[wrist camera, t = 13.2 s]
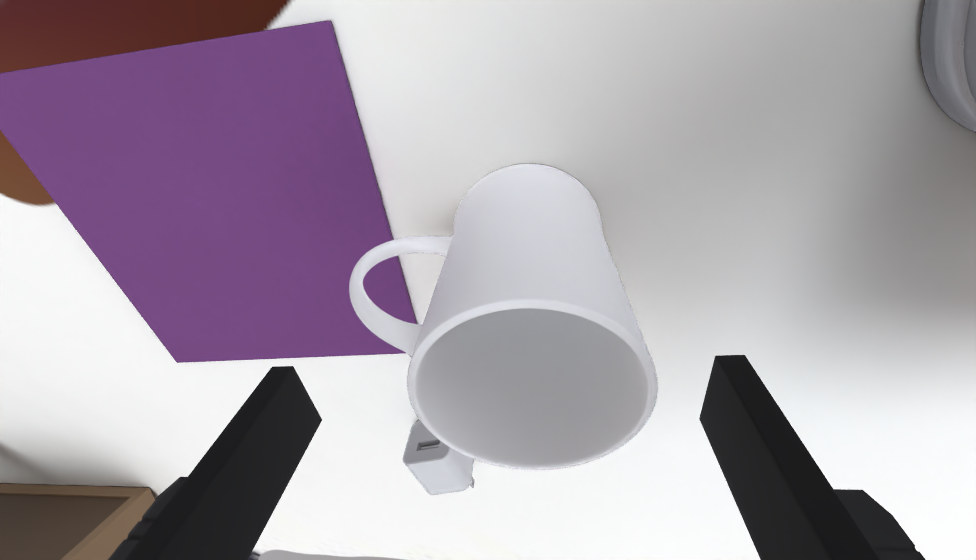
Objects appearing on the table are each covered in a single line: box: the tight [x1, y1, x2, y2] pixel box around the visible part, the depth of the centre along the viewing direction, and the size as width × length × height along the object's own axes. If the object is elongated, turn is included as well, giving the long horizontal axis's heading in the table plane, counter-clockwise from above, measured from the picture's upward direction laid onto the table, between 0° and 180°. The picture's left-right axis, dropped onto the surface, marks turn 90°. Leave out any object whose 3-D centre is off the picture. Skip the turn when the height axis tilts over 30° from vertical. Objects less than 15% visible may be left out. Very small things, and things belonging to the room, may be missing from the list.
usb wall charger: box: [403, 420, 474, 495], centre depth 32 cm, size 4×7×4 cm, turn 20°
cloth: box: [0, 21, 417, 363], centre depth 24 cm, size 20×20×1 cm
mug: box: [349, 164, 658, 470], centre depth 17 cm, size 12×8×12 cm
